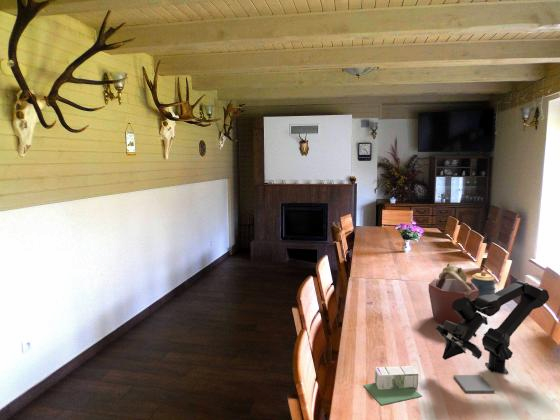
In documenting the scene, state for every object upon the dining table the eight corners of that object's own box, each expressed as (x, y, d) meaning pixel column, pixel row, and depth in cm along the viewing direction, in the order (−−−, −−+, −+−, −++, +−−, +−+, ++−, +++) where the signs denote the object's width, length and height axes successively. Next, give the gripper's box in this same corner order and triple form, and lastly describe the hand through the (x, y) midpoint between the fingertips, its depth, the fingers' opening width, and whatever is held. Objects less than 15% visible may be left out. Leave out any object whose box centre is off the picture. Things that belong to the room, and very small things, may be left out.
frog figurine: (432, 280, 265) (434, 262, 264) (454, 279, 271) (456, 262, 270) (446, 286, 252) (449, 268, 251) (469, 285, 258) (471, 268, 257)
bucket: (481, 333, 186) (484, 281, 183) (431, 329, 190) (433, 279, 187) (467, 313, 210) (470, 267, 206) (423, 310, 214) (425, 265, 211)
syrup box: (413, 365, 147) (374, 366, 146) (419, 373, 141) (378, 375, 140) (412, 379, 148) (373, 380, 147) (418, 388, 142) (378, 390, 141)
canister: (488, 297, 233) (490, 268, 230) (498, 305, 220) (500, 274, 217) (465, 296, 234) (467, 267, 232) (474, 304, 221) (476, 274, 219)
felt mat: (401, 378, 149) (401, 377, 149) (421, 396, 138) (421, 395, 138) (363, 386, 144) (363, 385, 144) (381, 405, 133) (381, 404, 133)
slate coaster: (453, 377, 150) (453, 375, 149) (480, 376, 149) (480, 374, 149) (465, 392, 140) (465, 390, 140) (494, 392, 139) (494, 390, 139)
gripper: (440, 304, 154) (415, 335, 153) (477, 323, 137) (449, 359, 135) (455, 321, 158) (431, 351, 156) (493, 341, 140) (467, 376, 138)
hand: (443, 358), depth 146 cm, fingers closed
